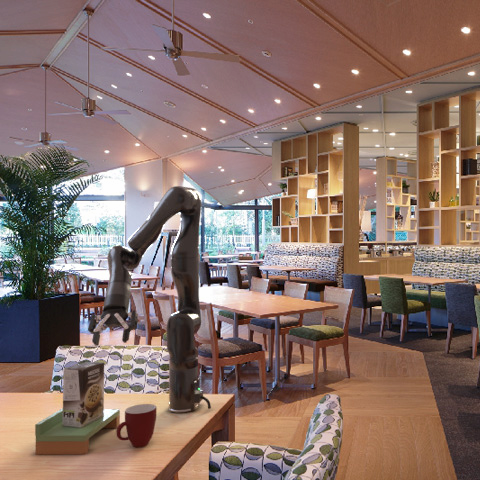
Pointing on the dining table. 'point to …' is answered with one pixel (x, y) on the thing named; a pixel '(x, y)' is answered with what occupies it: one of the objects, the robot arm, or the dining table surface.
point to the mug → (138, 424)
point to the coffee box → (83, 394)
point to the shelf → (70, 433)
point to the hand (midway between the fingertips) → (110, 343)
